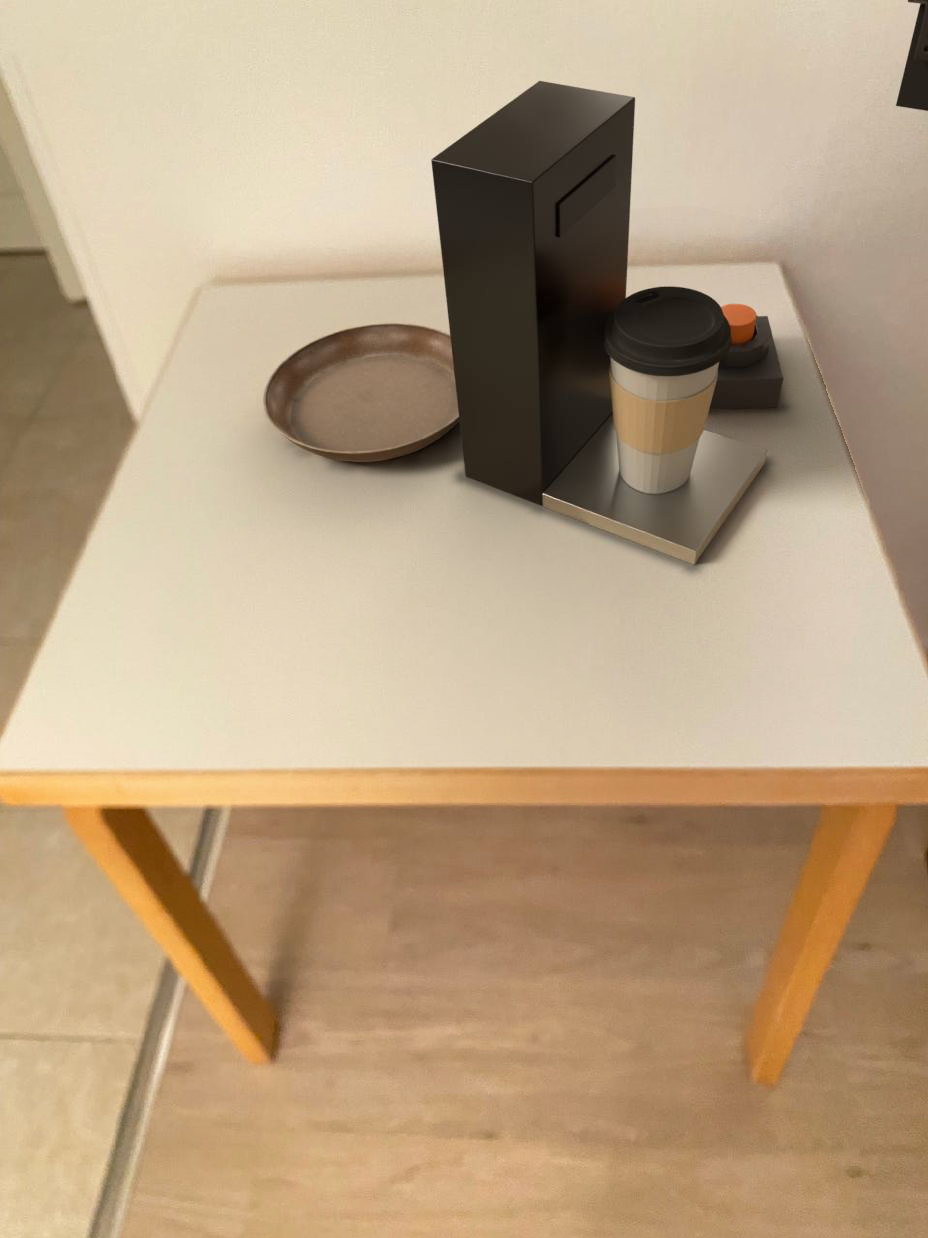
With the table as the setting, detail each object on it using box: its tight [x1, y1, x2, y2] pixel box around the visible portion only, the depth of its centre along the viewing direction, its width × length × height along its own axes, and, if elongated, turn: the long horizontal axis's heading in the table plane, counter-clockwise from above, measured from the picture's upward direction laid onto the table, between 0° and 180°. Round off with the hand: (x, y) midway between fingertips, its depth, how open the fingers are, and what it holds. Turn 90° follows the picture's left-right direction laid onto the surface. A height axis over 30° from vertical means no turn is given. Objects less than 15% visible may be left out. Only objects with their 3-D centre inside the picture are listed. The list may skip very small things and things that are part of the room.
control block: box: [709, 314, 784, 410], centre depth 91 cm, size 10×8×5 cm
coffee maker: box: [431, 80, 768, 565], centre depth 75 cm, size 22×14×28 cm, turn 56°
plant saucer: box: [262, 322, 460, 463], centre depth 92 cm, size 21×21×3 cm
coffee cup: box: [603, 285, 732, 494], centre depth 77 cm, size 9×9×15 cm
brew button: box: [720, 303, 757, 344], centre depth 88 cm, size 4×4×2 cm
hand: (918, 104), depth 68 cm, fingers closed
